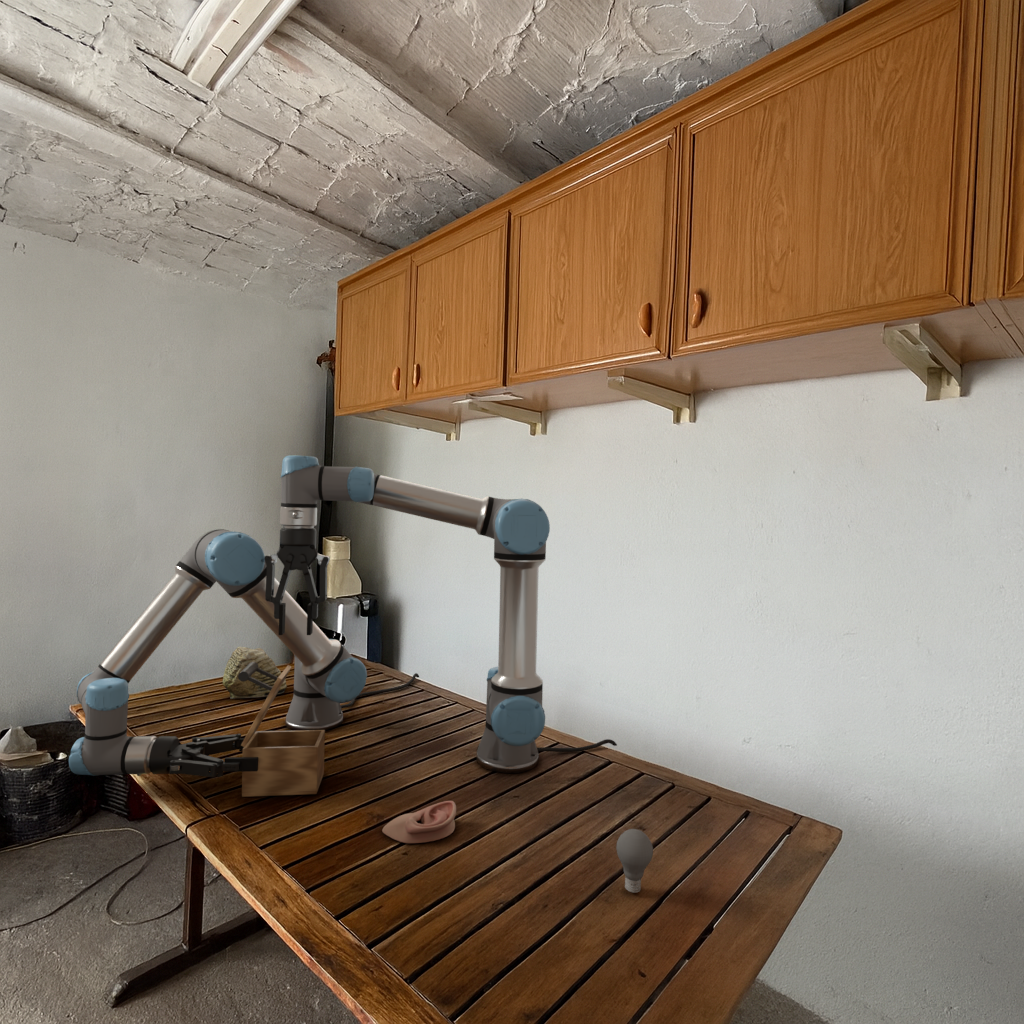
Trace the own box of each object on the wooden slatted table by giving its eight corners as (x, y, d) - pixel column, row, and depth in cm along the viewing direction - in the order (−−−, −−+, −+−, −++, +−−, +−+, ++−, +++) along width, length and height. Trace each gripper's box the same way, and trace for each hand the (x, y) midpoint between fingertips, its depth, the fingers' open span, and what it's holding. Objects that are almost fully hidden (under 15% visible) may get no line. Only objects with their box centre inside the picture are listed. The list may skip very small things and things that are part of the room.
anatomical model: (376, 817, 118) (399, 790, 129) (375, 838, 118) (398, 809, 129) (444, 828, 115) (461, 799, 127) (443, 849, 115) (461, 819, 127)
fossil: (218, 695, 195) (220, 647, 195) (278, 685, 208) (279, 640, 207) (228, 703, 189) (230, 653, 188) (289, 692, 201) (290, 645, 201)
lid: (291, 666, 143) (257, 650, 141) (281, 679, 133) (244, 661, 132) (257, 729, 142) (222, 713, 141) (244, 747, 132) (207, 730, 131)
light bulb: (610, 879, 108) (613, 822, 108) (644, 879, 109) (647, 822, 109) (619, 902, 102) (622, 840, 102) (655, 901, 103) (658, 840, 103)
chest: (324, 773, 144) (324, 729, 144) (316, 794, 134) (317, 746, 134) (254, 776, 142) (255, 731, 142) (241, 796, 132) (242, 748, 132)
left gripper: (174, 751, 146) (275, 750, 149) (129, 797, 123) (249, 795, 126) (175, 719, 145) (276, 718, 149) (130, 759, 123) (250, 757, 126)
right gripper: (249, 526, 132) (247, 637, 133) (339, 529, 135) (336, 637, 135) (259, 525, 140) (256, 630, 140) (343, 527, 142) (340, 630, 143)
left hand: (264, 753), depth 137 cm, fingers closed on chest, 10 cm apart
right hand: (295, 633), depth 138 cm, fingers open, 5 cm apart
